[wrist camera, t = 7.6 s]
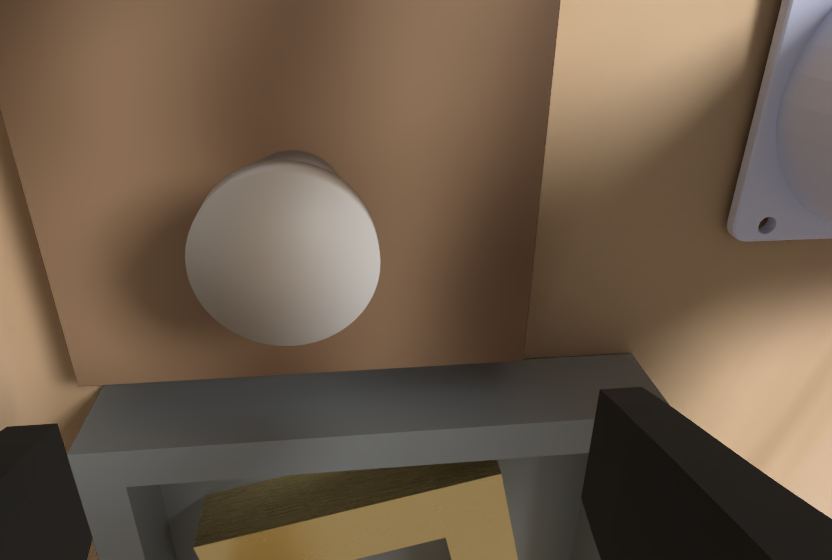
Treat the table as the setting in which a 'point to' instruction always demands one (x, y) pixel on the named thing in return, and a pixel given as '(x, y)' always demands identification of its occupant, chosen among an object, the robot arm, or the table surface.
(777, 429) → the table surface
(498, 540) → the ring
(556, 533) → the tray
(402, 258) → the stake base
